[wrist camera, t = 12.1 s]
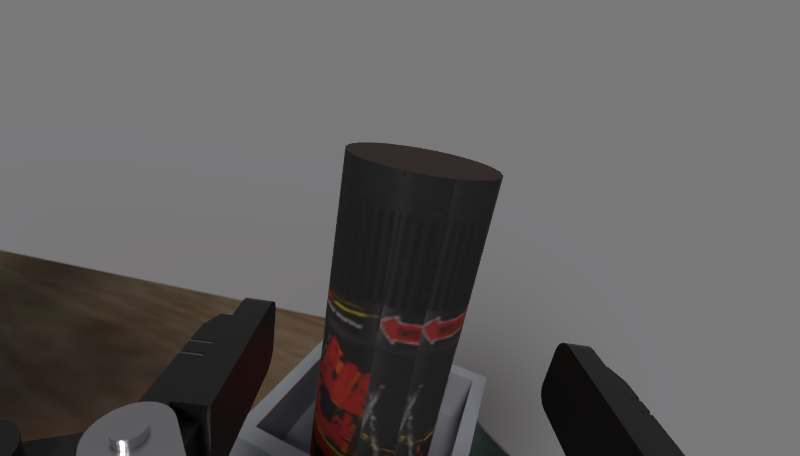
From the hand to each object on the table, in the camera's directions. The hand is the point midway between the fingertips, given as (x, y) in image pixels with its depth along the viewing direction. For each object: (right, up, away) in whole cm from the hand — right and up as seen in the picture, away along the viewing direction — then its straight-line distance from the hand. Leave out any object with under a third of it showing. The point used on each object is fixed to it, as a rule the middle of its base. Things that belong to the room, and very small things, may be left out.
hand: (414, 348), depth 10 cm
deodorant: (-2, -8, +9) cm, 12 cm away
